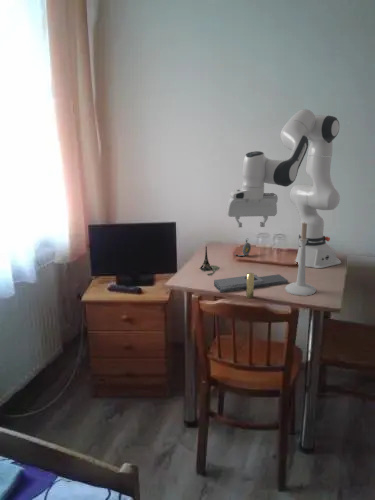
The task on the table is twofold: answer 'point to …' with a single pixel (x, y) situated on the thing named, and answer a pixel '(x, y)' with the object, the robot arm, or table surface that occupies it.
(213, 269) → the eiffel tower figurine
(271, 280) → the long grey slab
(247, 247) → the pocket watch
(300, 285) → the candlestick
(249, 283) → the brass pin
